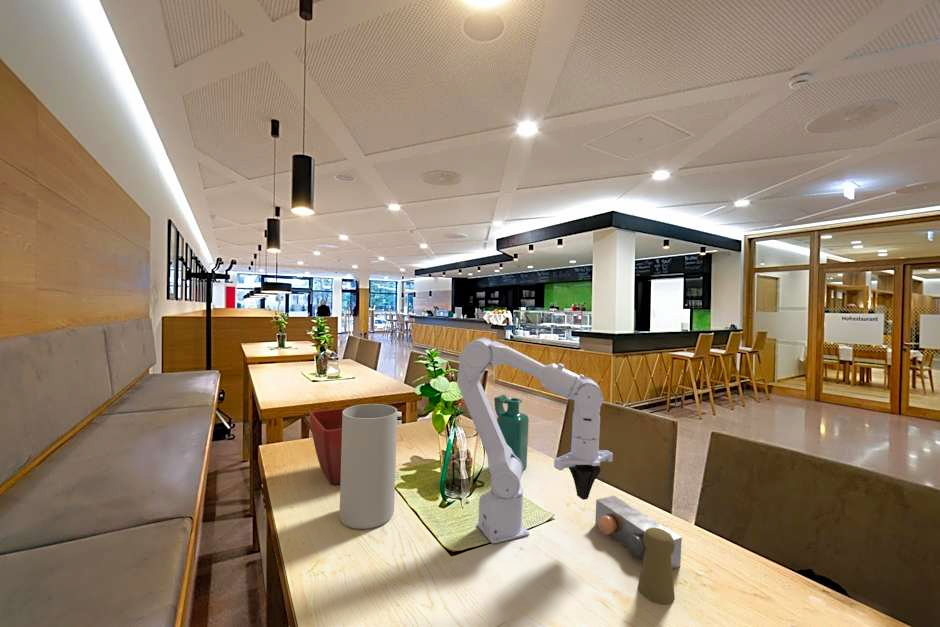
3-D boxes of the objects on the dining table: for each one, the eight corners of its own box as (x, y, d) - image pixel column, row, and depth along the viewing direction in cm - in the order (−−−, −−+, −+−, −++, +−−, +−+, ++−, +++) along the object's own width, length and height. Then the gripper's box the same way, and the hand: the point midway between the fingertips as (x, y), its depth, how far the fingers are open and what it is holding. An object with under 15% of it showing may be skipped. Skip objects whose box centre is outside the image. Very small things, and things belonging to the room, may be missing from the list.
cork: (679, 607, 67) (682, 544, 67) (642, 600, 68) (645, 539, 68) (668, 583, 73) (671, 525, 73) (634, 577, 74) (637, 520, 74)
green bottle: (528, 466, 123) (531, 398, 123) (517, 476, 116) (520, 403, 116) (501, 459, 129) (504, 393, 128) (488, 467, 121) (491, 398, 121)
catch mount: (660, 573, 76) (662, 543, 75) (595, 524, 92) (596, 499, 92) (680, 566, 78) (681, 537, 78) (612, 519, 94) (613, 495, 94)
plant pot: (391, 478, 112) (393, 420, 111) (323, 494, 101) (324, 430, 101) (368, 455, 128) (370, 404, 127) (307, 467, 117) (308, 412, 117)
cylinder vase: (404, 509, 95) (407, 408, 95) (371, 536, 84) (374, 422, 83) (363, 497, 100) (366, 401, 100) (327, 521, 89) (330, 413, 88)
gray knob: (639, 560, 77) (640, 542, 77) (625, 549, 81) (626, 532, 81) (663, 552, 80) (664, 535, 80) (649, 542, 84) (650, 525, 84)
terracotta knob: (609, 537, 85) (610, 521, 85) (597, 528, 88) (598, 513, 88) (633, 531, 88) (633, 515, 88) (620, 522, 91) (621, 507, 91)
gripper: (570, 445, 78) (567, 512, 78) (624, 438, 84) (621, 500, 84) (549, 434, 84) (546, 496, 84) (601, 427, 90) (598, 485, 90)
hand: (582, 497), depth 85 cm, fingers closed
